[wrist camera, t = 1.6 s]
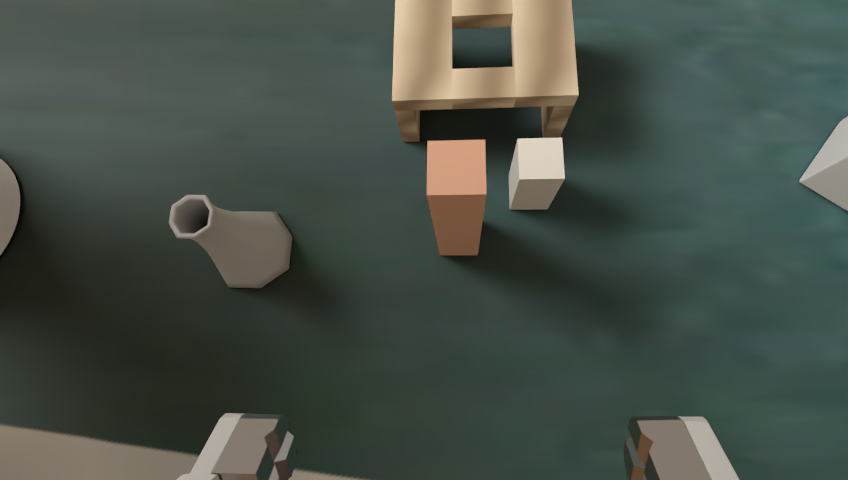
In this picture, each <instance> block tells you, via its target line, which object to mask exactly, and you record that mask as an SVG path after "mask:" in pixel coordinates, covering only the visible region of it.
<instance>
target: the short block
mask: <svg viewBox="0 0 848 480" xmlns="http://www.w3.org/2000/svg"><path fill="white" fill-rule="evenodd" d="M564 179H565V173H564V158H563V143H562V138H520V139H517V143H516V147H515V151H514V155H513V159H512V163H511V168H510V172H509V201H510V210H533V209H548V208H549V206H550V204H551V202H552V201H553V199H554V197H555V195H556V193H557V192H558V190H559V188H560V186H561V185H562V183H563V181H564Z"/></svg>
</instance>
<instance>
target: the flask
mask: <svg viewBox="0 0 848 480" xmlns="http://www.w3.org/2000/svg"><path fill="white" fill-rule="evenodd" d="M169 225H170V226H171V228H172V230H173V232H174V233H175V235H176V237H177V238H179V239H192V240H194V241H196V242H197V243H198V244H199V245H201V246H202V247H203V248H204V249H205V250H206V251H207V252H208V254H209V255H210V257H211V258H212V260H213V262H214V263H215V265H216V267H217V268H218V270H219V272H220V274H221V275H222V277H223V279H224V280H225V282H226V284H227V285H228V287H229V288H262V287H263V286H265V285H266V284H268V283H269V282H271V281H272V280H274V279H275V278H276V277H278V276H279V275H281V274H282V273H284V272H285V271H287V270H288V269H289V264H290V254H291V245H292V235H291V234H290V232H289V231H288V229H287V228H286V226H285V225H284V223H283V222H282V220H281V218H280V217H279V215H278V214H277V212H245V211H241V212H231V211H228V210H224V209H220V208H217V207H215V206H214V205H212V203H211V202H210V200H209V198H208V197H207V196H206V195H187V196H185V197H183V198H182V199H180V200H179V201H177V202H176V203H174V204H173V205H172V206H171V212H170V218H169Z"/></svg>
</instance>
